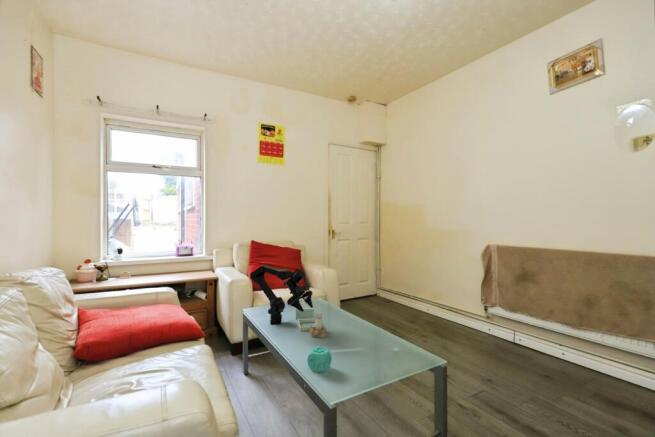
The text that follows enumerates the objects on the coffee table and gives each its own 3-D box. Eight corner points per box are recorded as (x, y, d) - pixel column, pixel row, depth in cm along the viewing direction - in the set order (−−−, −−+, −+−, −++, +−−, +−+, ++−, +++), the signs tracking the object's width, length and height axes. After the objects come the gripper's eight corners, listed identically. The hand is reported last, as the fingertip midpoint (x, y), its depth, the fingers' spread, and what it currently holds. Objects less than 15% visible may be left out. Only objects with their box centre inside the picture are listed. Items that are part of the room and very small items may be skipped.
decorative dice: (306, 369, 129) (307, 351, 129) (317, 361, 135) (317, 344, 135) (321, 374, 124) (322, 356, 124) (331, 367, 131) (332, 349, 131)
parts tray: (299, 332, 169) (299, 327, 169) (297, 323, 182) (297, 319, 182) (322, 331, 172) (322, 326, 172) (318, 322, 185) (318, 318, 185)
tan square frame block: (311, 339, 160) (312, 331, 160) (309, 332, 169) (309, 326, 168) (326, 338, 162) (326, 331, 162) (323, 332, 170) (323, 325, 170)
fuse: (315, 335, 163) (315, 315, 163) (313, 332, 167) (314, 313, 167) (322, 335, 164) (323, 315, 164) (320, 332, 168) (321, 313, 168)
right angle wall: (313, 320, 191) (314, 309, 191) (295, 319, 191) (296, 308, 191) (315, 314, 203) (315, 303, 203) (297, 313, 203) (298, 303, 203)
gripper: (291, 282, 164) (306, 305, 158) (310, 277, 180) (325, 298, 174) (280, 293, 169) (294, 316, 163) (300, 287, 184) (313, 308, 178)
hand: (308, 309), depth 169 cm, fingers open, 9 cm apart
